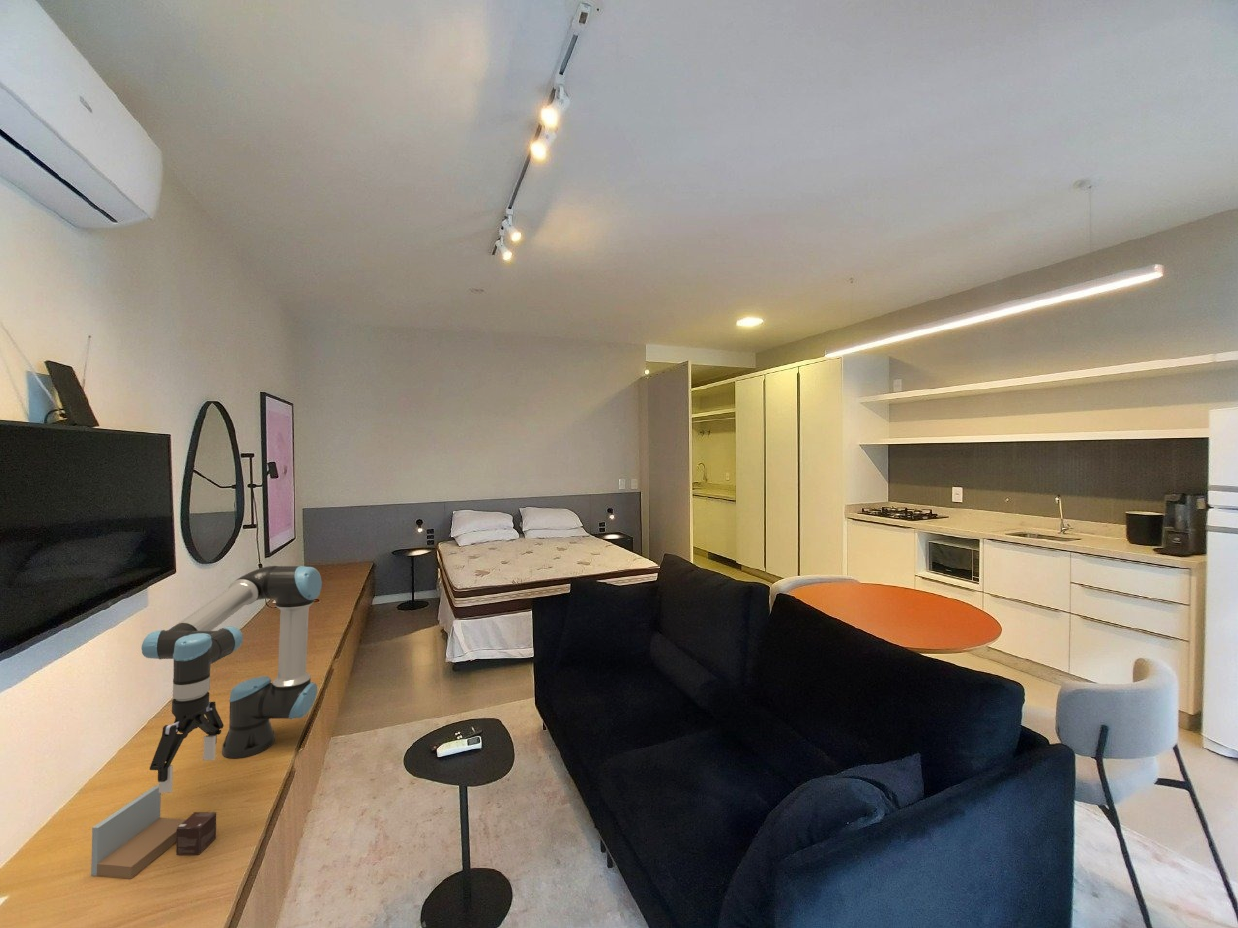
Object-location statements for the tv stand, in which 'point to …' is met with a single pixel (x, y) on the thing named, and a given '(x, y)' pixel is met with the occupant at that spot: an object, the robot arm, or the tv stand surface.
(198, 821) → the box
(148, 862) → the board
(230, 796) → the tv stand surface
